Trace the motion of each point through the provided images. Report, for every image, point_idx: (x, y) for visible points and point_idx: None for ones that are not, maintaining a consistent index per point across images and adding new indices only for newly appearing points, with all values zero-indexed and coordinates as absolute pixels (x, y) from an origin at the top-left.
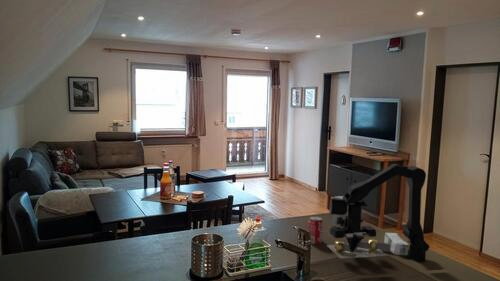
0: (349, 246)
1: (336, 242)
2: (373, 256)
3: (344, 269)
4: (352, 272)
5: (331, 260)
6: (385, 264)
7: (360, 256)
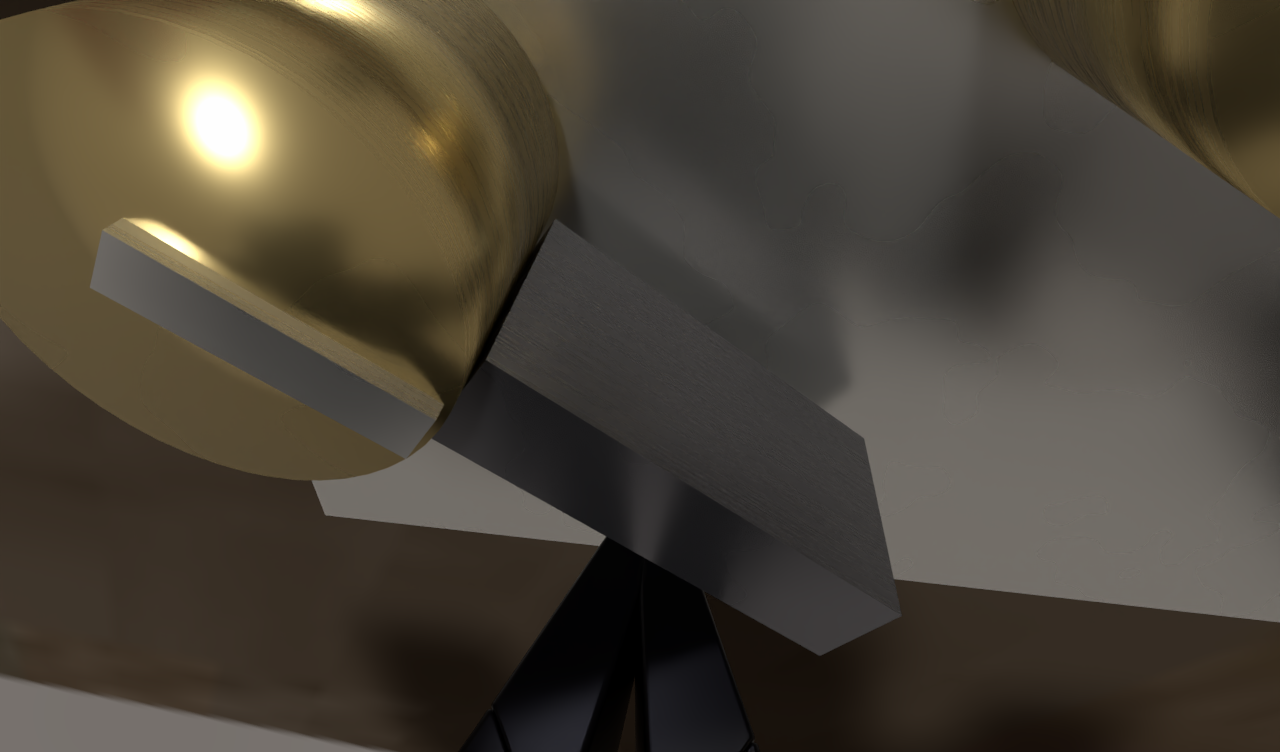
0: (551, 633)
1: (40, 287)
2: (1142, 606)
3: (348, 660)
4: (431, 717)
5: None
6: (1094, 716)
7: None
